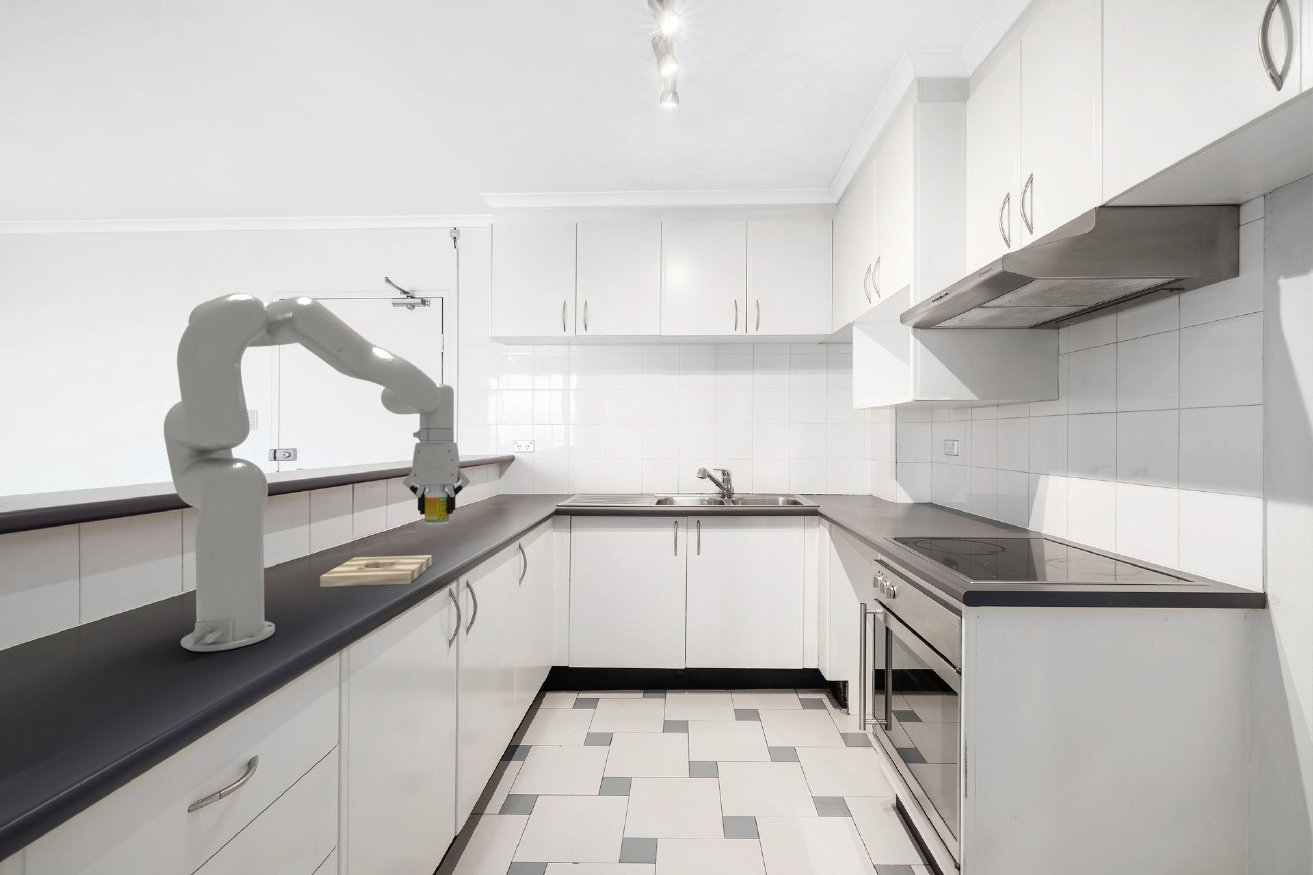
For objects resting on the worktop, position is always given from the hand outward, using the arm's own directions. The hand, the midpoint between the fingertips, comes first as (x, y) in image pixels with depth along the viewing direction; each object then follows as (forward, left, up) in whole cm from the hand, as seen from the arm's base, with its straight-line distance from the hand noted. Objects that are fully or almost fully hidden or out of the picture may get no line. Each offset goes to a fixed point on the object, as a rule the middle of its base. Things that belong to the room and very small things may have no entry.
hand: (436, 512), depth 135 cm
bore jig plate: (+12, +17, -17) cm, 27 cm away
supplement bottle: (0, 0, -3) cm, 3 cm away
